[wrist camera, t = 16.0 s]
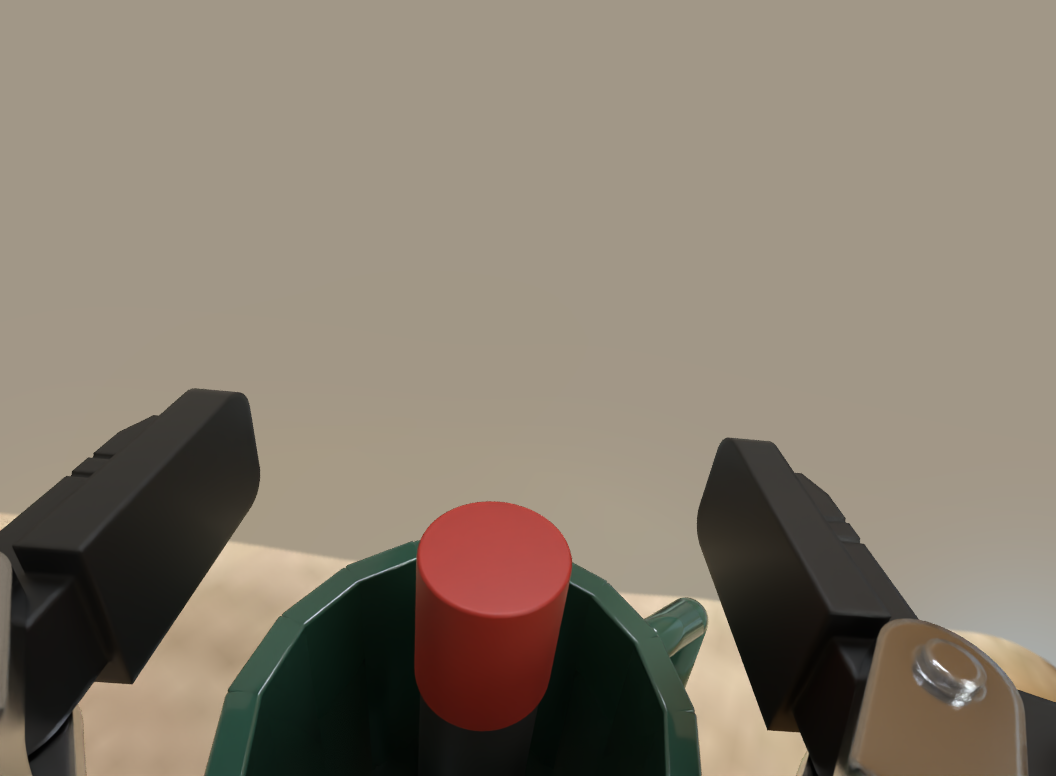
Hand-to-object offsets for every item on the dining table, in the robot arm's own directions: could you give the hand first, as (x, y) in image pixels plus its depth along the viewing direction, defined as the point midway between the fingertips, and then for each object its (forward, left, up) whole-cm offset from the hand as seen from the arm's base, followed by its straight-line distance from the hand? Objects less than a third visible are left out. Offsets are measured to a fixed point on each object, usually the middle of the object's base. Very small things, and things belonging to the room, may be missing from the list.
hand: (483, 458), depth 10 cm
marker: (+1, -2, -13) cm, 13 cm away
